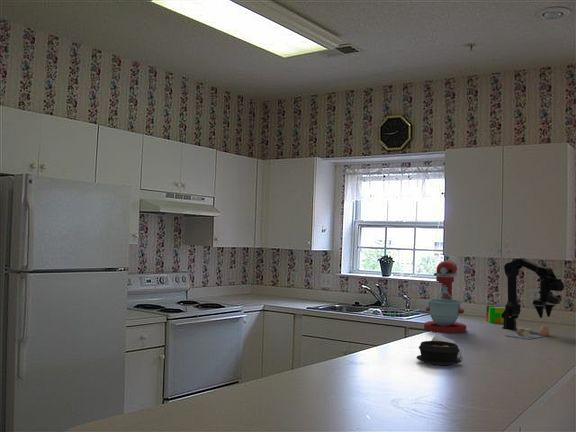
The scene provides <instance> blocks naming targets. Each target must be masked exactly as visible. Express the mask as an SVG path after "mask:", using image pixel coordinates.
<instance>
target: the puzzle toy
mask: <svg viewBox="0 0 576 432" xmlns="http://www.w3.org/2000/svg"><path fill="white" fill-rule="evenodd" d="M504 311H505V306H502V305H501V306H497V305H486V315H485V316H486V318H485V319H486V322H488V323H490V324H501V325H502V324H503V325H504V318H502V317H501V314H502V313H503V312H504Z"/></svg>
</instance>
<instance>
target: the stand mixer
mask: <svg viewBox="0 0 576 432" xmlns="http://www.w3.org/2000/svg"><path fill="white" fill-rule="evenodd" d="M457 270H458V267H457V264H456V263H455V262H453V261H452V260H445V261H441V262H439V263H438V265H437V266H436V272H434V273H433V275H434V276H435V277H436V279H435V280H436V282H438V283H439V284H442V286H441V287H440V288H441V289H442V290H441V292H440V293H439V295H438V296H437V298H431V299H430V298H429V299H427V303H428V306H426V307H425V311H426V312H429V315H430V318H431V319H432V320H429V321H425V322H424V324H423V329H424V330H426V331H428V332H431V331H432V332H433V333H437V332H438V334H461V333H463V334H464V333H466V331H467V325H466V324H465V323H462V322H458V321H457V319H458V317H459V316H460V314H461V315H462V314H464V313H465V309H464V308H462V307H461V305H462V301H460V300H455V299H454V298H453V296H452V295H453V293H452V292H453V291H452V290H453V283H454V282H455V277H457V276H458V272H457ZM432 332H431V333H432Z"/></svg>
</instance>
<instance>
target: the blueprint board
mask: <svg viewBox="0 0 576 432" xmlns="http://www.w3.org/2000/svg"><path fill="white" fill-rule="evenodd" d="M504 336H505V337H508V336H509V337H510V338H515V339H517V338H518V339H524V340H534V339H535V340H536V339H538V338H539V339H540V338H543V337H544V336H541V335H536V334H530V336H527V337H524V336H517V332H515V333H510V334H504ZM509 337H508V338H509Z"/></svg>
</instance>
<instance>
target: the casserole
mask: <svg viewBox="0 0 576 432" xmlns="http://www.w3.org/2000/svg"><path fill="white" fill-rule="evenodd" d="M418 349H419V351H420V354H418V355H417V356H416V357H415V358H416V359H417V360H418V361H421V362H422V363H424V364H427V365H430V364H431V366H435V365H441V366H440V367H449V366H453V365H456V364H459V363H461V362H462V359H460V357H457V356H458V352H459V351H460V350H459V349H458V346H457V345H456V344H454V343H450V342H444V341H431V340H426V341H421V342H420V345H419V346H418Z"/></svg>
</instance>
